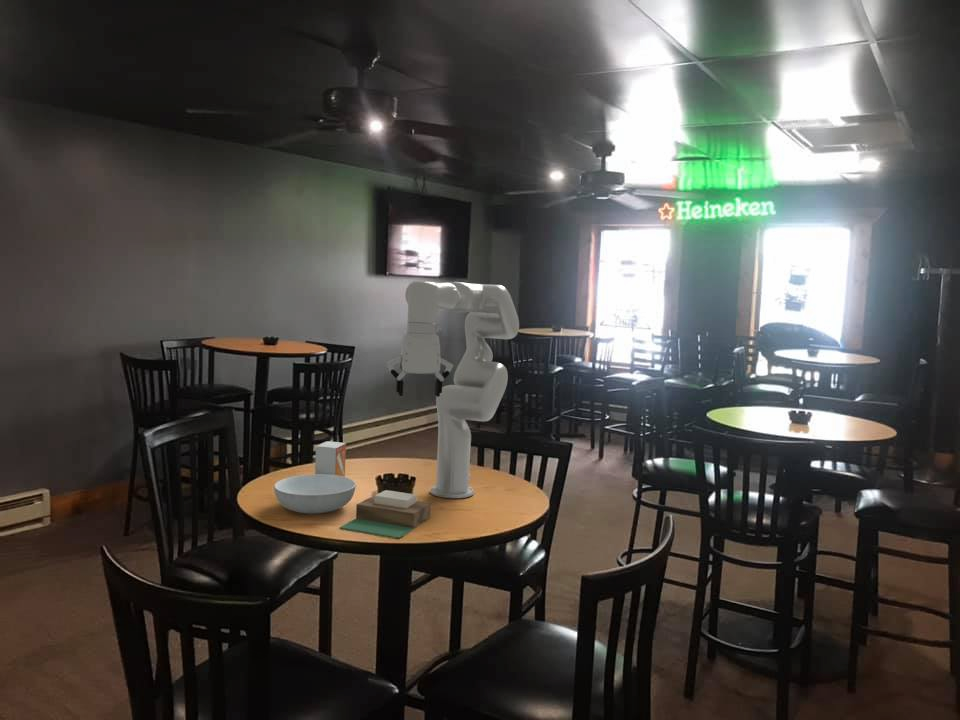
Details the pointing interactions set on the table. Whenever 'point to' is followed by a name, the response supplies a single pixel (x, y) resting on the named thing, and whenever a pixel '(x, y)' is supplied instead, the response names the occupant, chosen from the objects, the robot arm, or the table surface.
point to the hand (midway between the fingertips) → (418, 395)
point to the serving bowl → (314, 493)
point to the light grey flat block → (395, 499)
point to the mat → (376, 528)
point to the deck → (393, 513)
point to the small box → (330, 458)
